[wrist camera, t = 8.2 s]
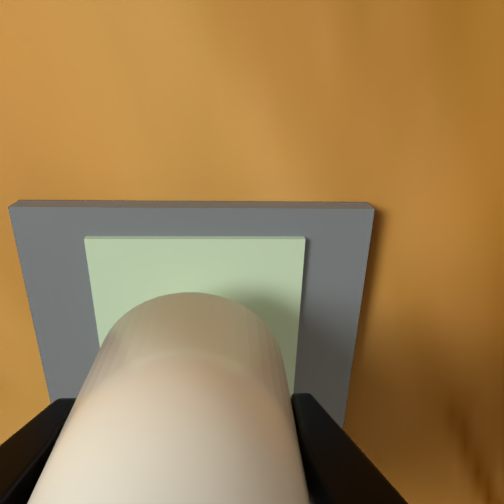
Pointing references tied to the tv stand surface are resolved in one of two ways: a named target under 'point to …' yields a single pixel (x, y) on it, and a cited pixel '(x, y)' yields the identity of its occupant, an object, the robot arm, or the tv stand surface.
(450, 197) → the tv stand surface
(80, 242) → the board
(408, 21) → the tv stand surface
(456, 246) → the tv stand surface
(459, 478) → the tv stand surface
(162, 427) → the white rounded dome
